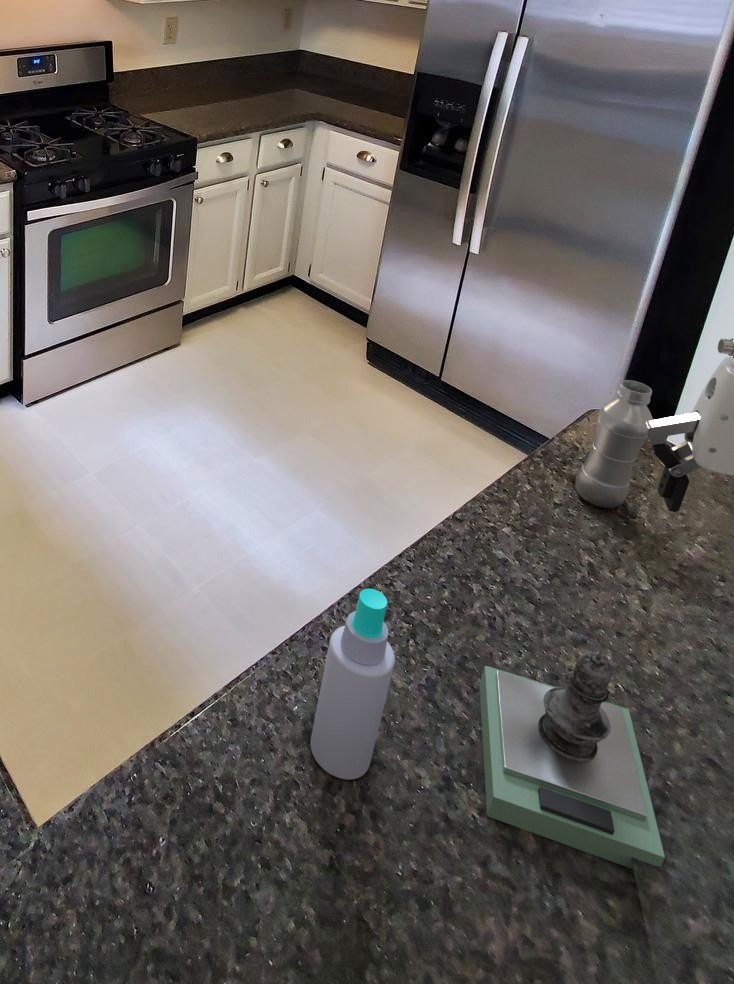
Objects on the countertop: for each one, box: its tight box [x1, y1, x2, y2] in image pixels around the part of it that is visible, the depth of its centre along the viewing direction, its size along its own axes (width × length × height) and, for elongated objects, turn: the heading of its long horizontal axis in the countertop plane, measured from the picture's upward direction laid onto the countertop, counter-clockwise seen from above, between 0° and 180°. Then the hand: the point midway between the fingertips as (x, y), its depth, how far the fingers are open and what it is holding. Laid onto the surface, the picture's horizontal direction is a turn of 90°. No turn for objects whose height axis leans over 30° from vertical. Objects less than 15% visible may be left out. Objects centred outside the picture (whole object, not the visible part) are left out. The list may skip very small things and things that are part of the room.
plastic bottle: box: [574, 379, 654, 509], centre depth 116 cm, size 6×7×20 cm
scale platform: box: [495, 671, 647, 821], centre depth 82 cm, size 12×12×1 cm
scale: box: [478, 665, 666, 870], centre depth 81 cm, size 14×16×4 cm
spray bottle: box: [310, 588, 396, 781], centre depth 79 cm, size 6×6×22 cm
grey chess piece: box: [538, 652, 613, 762], centre depth 79 cm, size 6×6×12 cm
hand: (728, 514), depth 76 cm, fingers open, 9 cm apart
